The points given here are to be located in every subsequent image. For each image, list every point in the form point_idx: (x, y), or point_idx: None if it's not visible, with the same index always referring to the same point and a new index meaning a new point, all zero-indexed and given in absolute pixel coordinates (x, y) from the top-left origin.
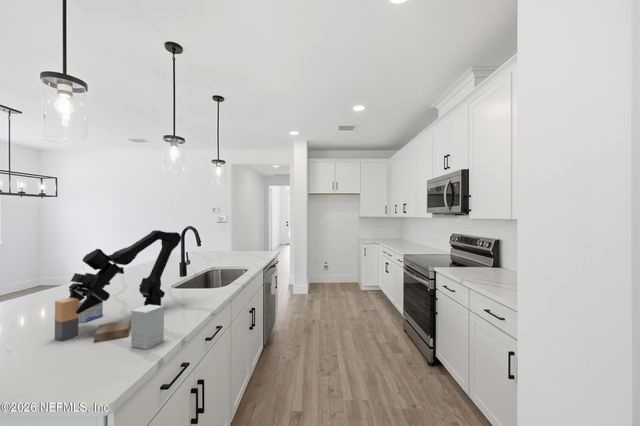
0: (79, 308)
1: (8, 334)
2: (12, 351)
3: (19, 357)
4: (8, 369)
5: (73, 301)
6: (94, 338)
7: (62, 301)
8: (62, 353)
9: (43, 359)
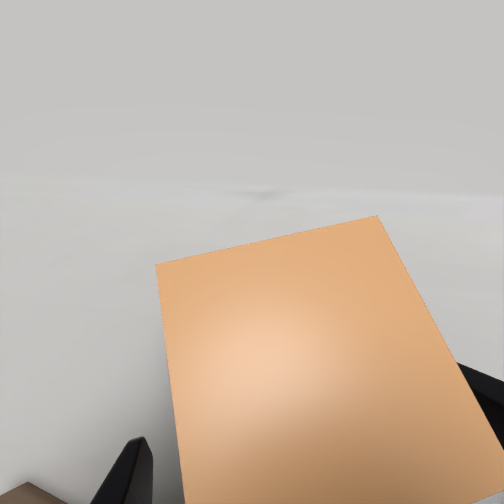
0: (97, 500)
1: (491, 202)
2: (256, 199)
3: (165, 209)
4: (79, 183)
5: (187, 456)
6: (5, 494)
7: (254, 282)
8: (43, 321)
9: (55, 261)
